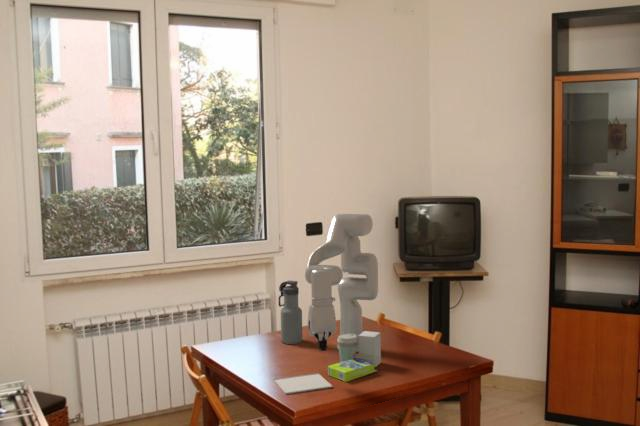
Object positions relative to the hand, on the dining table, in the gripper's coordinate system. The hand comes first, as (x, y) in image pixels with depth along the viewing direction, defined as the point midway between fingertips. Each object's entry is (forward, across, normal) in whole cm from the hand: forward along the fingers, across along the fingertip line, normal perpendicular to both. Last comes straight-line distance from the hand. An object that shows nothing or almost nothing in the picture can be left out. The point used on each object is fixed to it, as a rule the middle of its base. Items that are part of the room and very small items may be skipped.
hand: (322, 349), depth 245 cm
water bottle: (+12, -5, -55) cm, 57 cm away
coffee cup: (+12, -16, -14) cm, 25 cm away
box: (+10, -5, 0) cm, 12 cm away
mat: (+12, +8, 0) cm, 15 cm away
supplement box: (+12, -25, -12) cm, 30 cm away
